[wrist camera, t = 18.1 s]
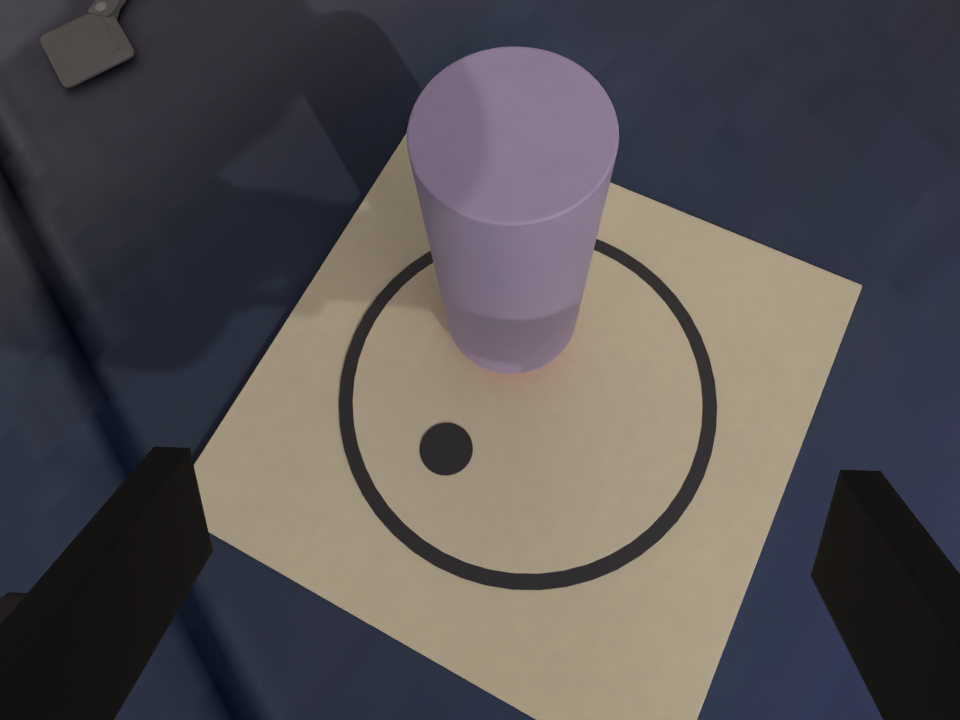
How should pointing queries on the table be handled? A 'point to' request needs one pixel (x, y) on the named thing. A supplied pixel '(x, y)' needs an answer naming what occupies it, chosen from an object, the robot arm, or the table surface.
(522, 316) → the cylinder
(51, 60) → the key chain
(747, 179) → the table surface
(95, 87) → the table surface
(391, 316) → the beige square board
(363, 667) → the table surface
